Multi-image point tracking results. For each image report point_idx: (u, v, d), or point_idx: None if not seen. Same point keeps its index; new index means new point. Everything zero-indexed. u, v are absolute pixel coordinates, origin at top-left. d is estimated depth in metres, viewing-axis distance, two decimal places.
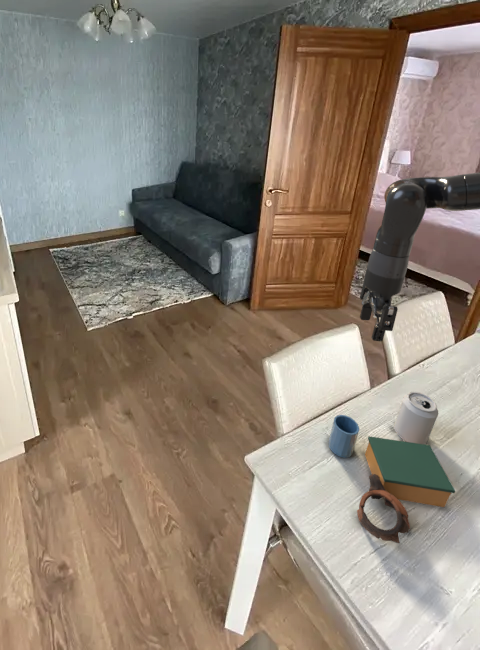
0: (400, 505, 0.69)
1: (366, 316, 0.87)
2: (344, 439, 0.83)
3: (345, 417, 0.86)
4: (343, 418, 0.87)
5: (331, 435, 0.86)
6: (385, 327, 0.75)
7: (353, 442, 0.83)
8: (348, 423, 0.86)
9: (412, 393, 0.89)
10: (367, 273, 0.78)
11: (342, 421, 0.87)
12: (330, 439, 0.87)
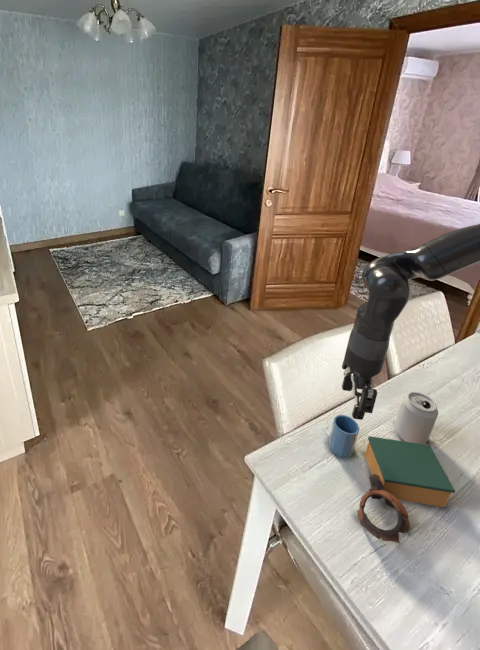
0: (400, 505, 0.69)
1: (348, 387, 0.85)
2: (344, 439, 0.83)
3: (345, 417, 0.86)
4: (343, 418, 0.87)
5: (331, 435, 0.86)
6: (365, 409, 0.73)
7: (353, 442, 0.83)
8: (348, 423, 0.86)
9: (412, 393, 0.89)
10: (347, 350, 0.77)
11: (342, 421, 0.87)
12: (330, 439, 0.87)
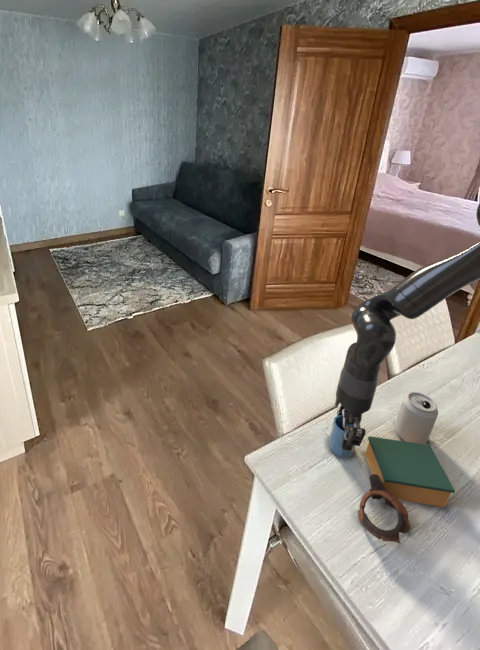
0: (401, 505, 0.69)
1: None
2: None
3: None
4: None
5: (331, 435, 0.86)
6: (353, 442, 0.79)
7: None
8: None
9: (412, 393, 0.89)
10: (338, 388, 0.80)
11: (342, 421, 0.87)
12: (330, 439, 0.87)
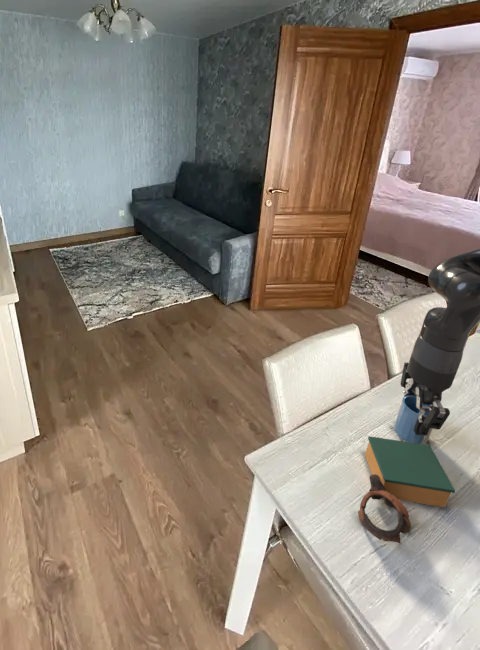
0: (401, 505, 0.69)
1: None
2: None
3: (415, 398, 0.75)
4: (412, 399, 0.75)
5: (399, 418, 0.75)
6: (432, 425, 0.67)
7: None
8: None
9: None
10: (413, 362, 0.69)
11: (411, 403, 0.76)
12: (397, 423, 0.75)
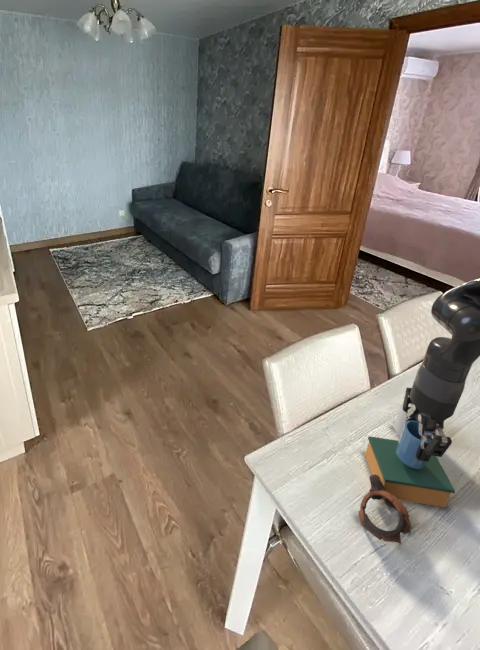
0: (401, 505, 0.69)
1: None
2: None
3: (416, 423, 0.76)
4: (414, 424, 0.76)
5: (401, 443, 0.76)
6: (434, 453, 0.68)
7: None
8: None
9: None
10: (415, 390, 0.70)
11: (413, 428, 0.77)
12: (399, 448, 0.76)
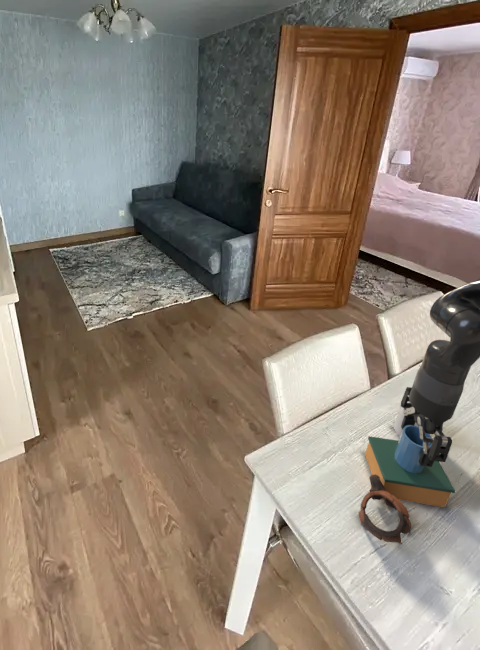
0: (401, 505, 0.69)
1: None
2: (417, 453, 0.73)
3: (415, 427, 0.77)
4: (412, 428, 0.77)
5: (399, 448, 0.76)
6: (437, 458, 0.67)
7: None
8: (418, 434, 0.77)
9: None
10: (414, 392, 0.70)
11: (411, 432, 0.77)
12: (397, 452, 0.77)
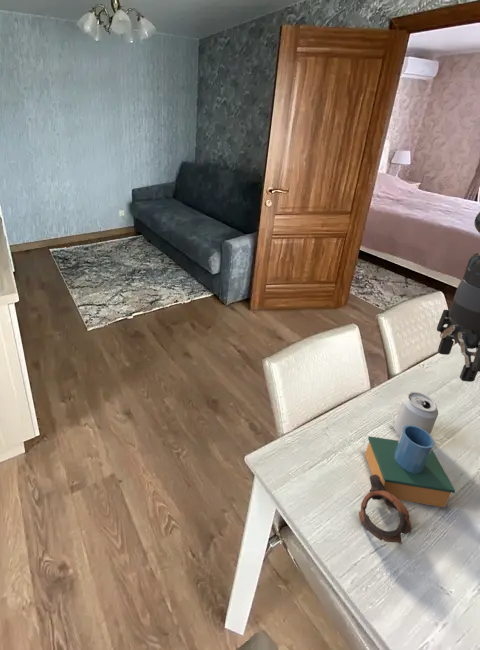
0: (401, 505, 0.69)
1: (446, 350, 0.79)
2: (417, 453, 0.73)
3: (415, 427, 0.77)
4: (412, 428, 0.77)
5: (399, 448, 0.76)
6: None
7: (427, 456, 0.73)
8: (418, 434, 0.77)
9: (412, 393, 0.89)
10: (455, 306, 0.71)
11: (411, 432, 0.77)
12: (398, 452, 0.77)
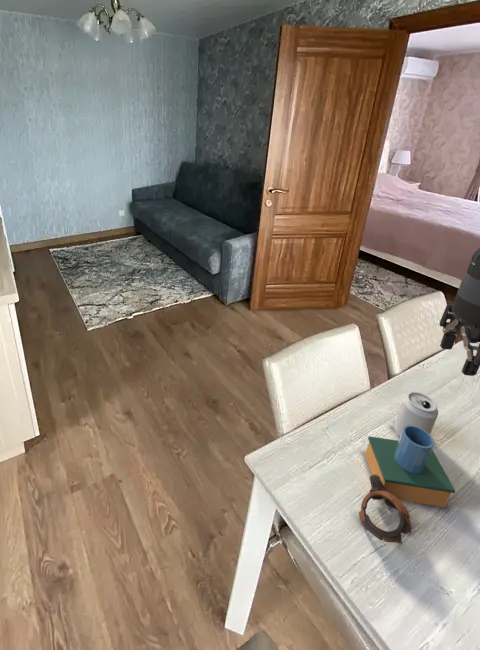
0: (402, 505, 0.69)
1: (448, 345, 0.79)
2: (417, 453, 0.73)
3: (415, 428, 0.77)
4: (412, 428, 0.77)
5: (399, 448, 0.76)
6: None
7: (427, 456, 0.73)
8: (418, 434, 0.77)
9: (412, 393, 0.89)
10: (459, 301, 0.71)
11: (411, 432, 0.77)
12: (398, 452, 0.77)
